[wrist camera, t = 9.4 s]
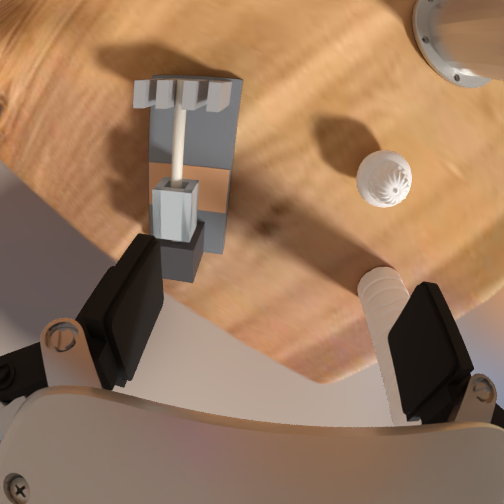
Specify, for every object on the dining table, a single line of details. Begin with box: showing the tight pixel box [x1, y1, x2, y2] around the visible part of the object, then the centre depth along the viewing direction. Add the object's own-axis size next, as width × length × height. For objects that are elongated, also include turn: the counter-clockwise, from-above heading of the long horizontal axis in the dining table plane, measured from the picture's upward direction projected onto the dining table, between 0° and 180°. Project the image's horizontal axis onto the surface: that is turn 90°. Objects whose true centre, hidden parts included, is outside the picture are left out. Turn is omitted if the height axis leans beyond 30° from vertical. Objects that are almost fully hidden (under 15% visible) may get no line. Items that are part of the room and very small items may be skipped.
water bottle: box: [357, 267, 422, 426], centre depth 30 cm, size 9×6×25 cm
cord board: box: [133, 75, 243, 283], centre depth 29 cm, size 20×9×8 cm, turn 173°
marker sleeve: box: [152, 177, 199, 242], centre depth 29 cm, size 5×4×3 cm
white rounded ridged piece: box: [356, 150, 412, 207], centre depth 28 cm, size 6×6×7 cm
